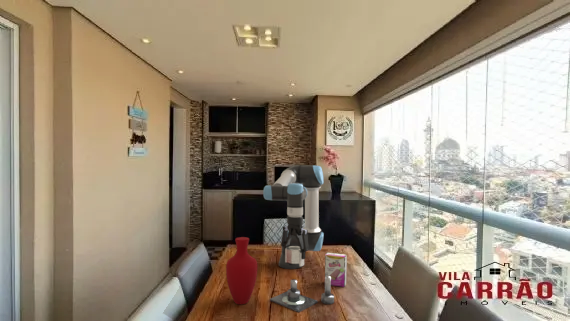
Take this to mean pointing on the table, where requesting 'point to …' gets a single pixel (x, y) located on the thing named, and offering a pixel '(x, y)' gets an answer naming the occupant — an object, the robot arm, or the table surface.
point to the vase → (241, 272)
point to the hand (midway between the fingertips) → (294, 263)
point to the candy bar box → (336, 268)
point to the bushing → (292, 254)
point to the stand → (327, 292)
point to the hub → (294, 299)
